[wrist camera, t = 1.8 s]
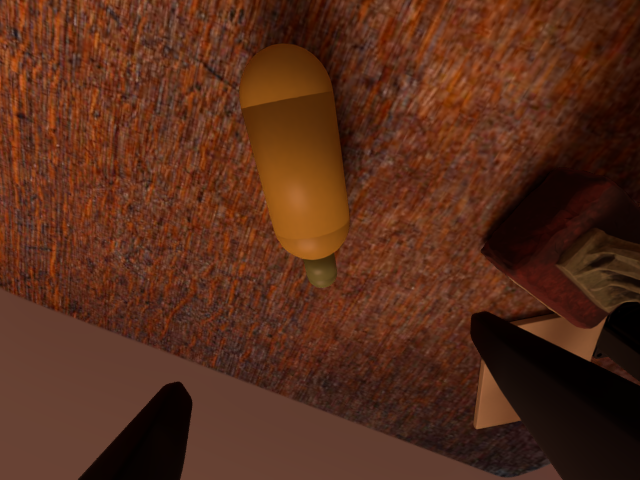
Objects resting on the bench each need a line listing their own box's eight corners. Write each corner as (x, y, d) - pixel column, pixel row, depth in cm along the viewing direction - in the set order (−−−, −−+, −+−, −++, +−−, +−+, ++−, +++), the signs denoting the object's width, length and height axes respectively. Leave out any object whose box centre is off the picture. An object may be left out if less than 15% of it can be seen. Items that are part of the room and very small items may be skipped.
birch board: (604, 303, 25) (610, 307, 25) (567, 405, 32) (571, 410, 31) (485, 326, 25) (489, 331, 24) (473, 424, 32) (476, 429, 31)
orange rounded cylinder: (351, 261, 21) (365, 299, 17) (291, 272, 21) (290, 314, 17) (320, 45, 15) (331, 21, 11) (236, 61, 15) (214, 44, 11)
